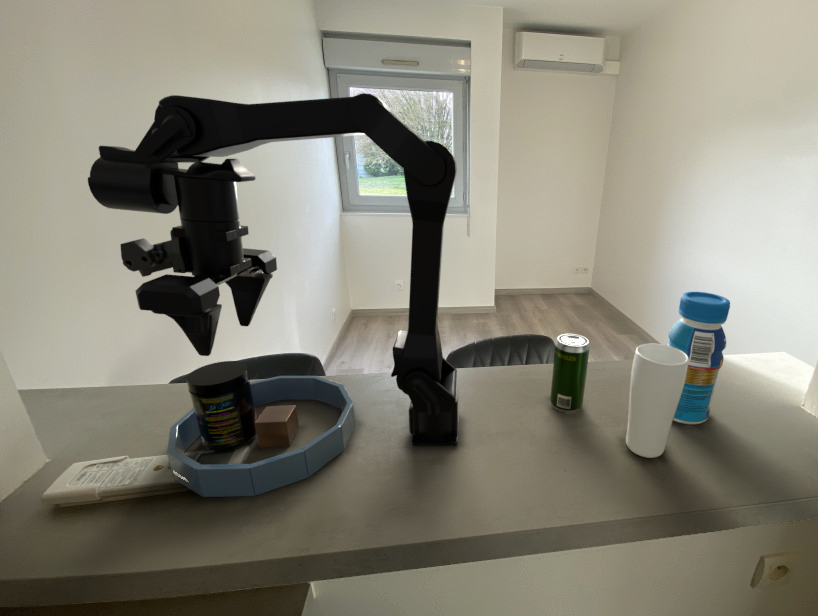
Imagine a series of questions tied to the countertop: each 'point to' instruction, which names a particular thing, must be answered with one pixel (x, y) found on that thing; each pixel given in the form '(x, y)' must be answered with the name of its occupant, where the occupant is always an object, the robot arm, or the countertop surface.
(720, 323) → the beverage bottle
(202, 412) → the supplement container
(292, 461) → the blue polygonal ring
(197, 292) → the robot arm
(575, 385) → the beer can
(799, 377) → the countertop surface
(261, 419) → the walnut block
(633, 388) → the drinking glass
